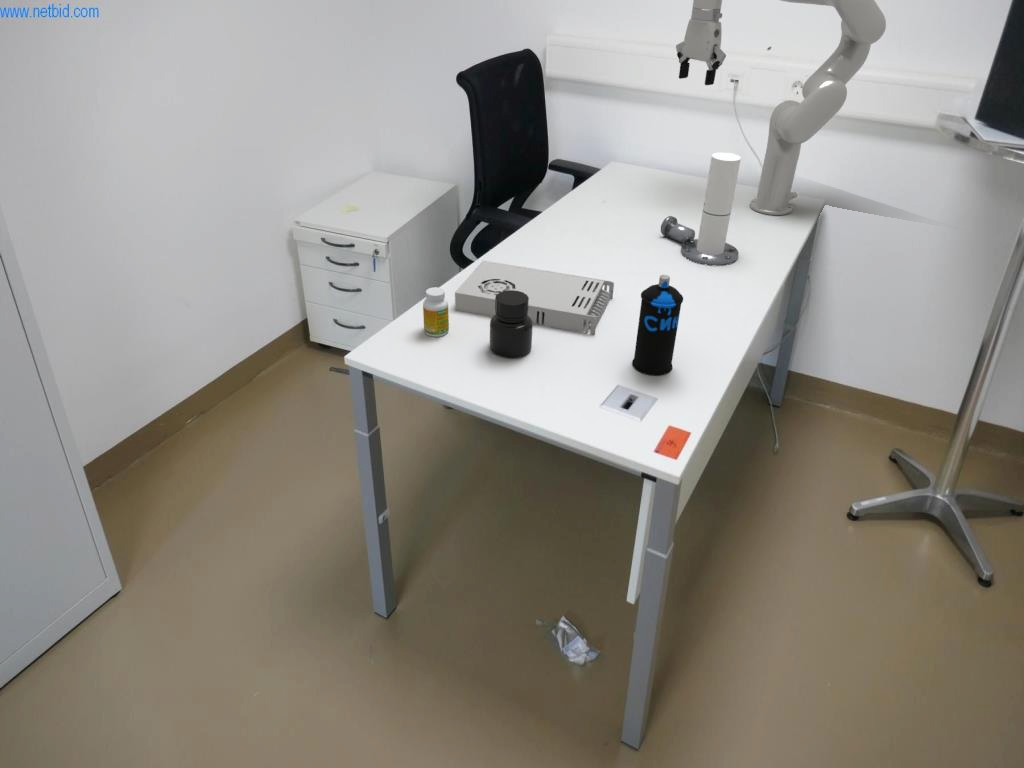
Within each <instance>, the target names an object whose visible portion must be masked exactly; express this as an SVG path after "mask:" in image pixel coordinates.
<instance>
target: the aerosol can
mask: <svg viewBox="0 0 1024 768" xmlns="http://www.w3.org/2000/svg"><path fill="white" fill-rule="evenodd" d="M670 280H671V277H670V276H669V275H667V274H661V275H660V276H659V280H658V283H657V284H652V285H650V286H648V287H647V288H645V289H644V290H643V291H642V292H641V293H640V297H641V298H640V299H641V302H640V310H639V317H638V327H637V332H636V333H637V334H636V339H635V350H634V354H633V355H634V357H633V359H632V362H631V364H632V366H633V368H634V369H635V370H636V371H637V372H640V373H641V374H645V375H648V376H664V375H666V374H668V373H670V372H671V371H672V369H673V357H674V351H675V345H676V341H677V340H676V339H677V333H678V326H679V319H680V313H681V308H682V303H684V302H683V301H684V296H683V295H682V294H681V293H680V291H679V290H677V288H675V287H674V286H671V285H670Z"/></svg>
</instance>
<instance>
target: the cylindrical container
mask: <svg viewBox="0 0 1024 768" xmlns="http://www.w3.org/2000/svg"><path fill="white" fill-rule="evenodd" d="M741 159H742V157H741V156H740V155H738V154H736V153H732V152H714V153H713V154H711V158H710V165H709V169H708V177H707V182H706V189H705V194H704V201H703V207H702V211H701V213H702V214H701V219H700V225H699V231H698V235H697V236H698V238H697V239H698V242H697V250H698V251H699V252H701V253H704V254H708V255H719V254H722V253H723V252H724V247H725V243H726V240H727V236H728V235H727V234H728V229H729V225H730V221H731V220H730V219H731V213H732V208H733V203H734V197H735V192H736V187H737V183H738V182H737V180H738V176H739V171H740V165H741Z"/></svg>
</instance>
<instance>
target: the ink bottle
mask: <svg viewBox="0 0 1024 768" xmlns="http://www.w3.org/2000/svg"><path fill="white" fill-rule="evenodd" d="M528 303H529V297H528V296H527V294H525V293H523V292H520V291H514V290H509V291H503V292H499V293H498V294H497V295H496V297H495V315H494V316H491V318H490V321H489V349H490V351H491V352H492V353H493V354H494V355H496V356H499V357H502V358H508V359H509V358H510V359H512V358H513V359H516V358H521V357H524V356H526V355H528V354H529V353H530V352H531V350H532V343H533V342H532V341H533V323H532V320H531V318H530V317H529V316H528Z"/></svg>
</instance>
